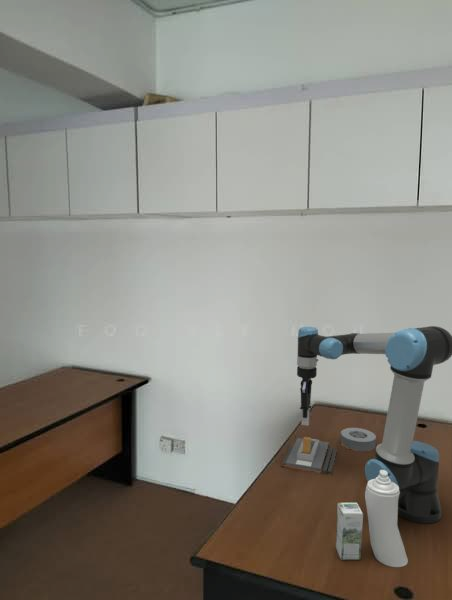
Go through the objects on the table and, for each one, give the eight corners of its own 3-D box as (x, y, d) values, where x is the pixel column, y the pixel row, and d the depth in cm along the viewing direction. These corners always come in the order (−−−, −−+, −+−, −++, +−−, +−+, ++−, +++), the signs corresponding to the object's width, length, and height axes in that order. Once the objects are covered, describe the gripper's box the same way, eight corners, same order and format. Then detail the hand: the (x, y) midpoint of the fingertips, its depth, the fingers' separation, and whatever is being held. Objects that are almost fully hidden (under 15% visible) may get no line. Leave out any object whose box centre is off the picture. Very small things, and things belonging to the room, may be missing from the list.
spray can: (378, 571, 126) (382, 485, 123) (356, 547, 136) (360, 466, 133) (414, 564, 129) (419, 479, 126) (390, 541, 139) (394, 462, 136)
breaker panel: (331, 475, 179) (331, 464, 179) (281, 466, 186) (281, 456, 185) (337, 448, 204) (338, 438, 203) (294, 441, 210) (294, 432, 210)
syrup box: (354, 547, 136) (356, 501, 134) (361, 561, 130) (363, 512, 128) (335, 547, 136) (337, 501, 134) (341, 561, 130) (343, 512, 128)
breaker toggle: (309, 459, 188) (309, 440, 187) (302, 457, 189) (302, 439, 188) (310, 455, 191) (311, 437, 190) (303, 454, 192) (304, 436, 191)
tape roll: (382, 449, 203) (383, 438, 203) (354, 454, 198) (354, 443, 197) (360, 436, 218) (361, 425, 217) (333, 440, 212) (333, 430, 211)
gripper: (314, 371, 173) (312, 431, 176) (319, 363, 185) (317, 420, 188) (294, 369, 175) (292, 429, 178) (300, 361, 188) (298, 417, 190)
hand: (305, 424), depth 183 cm, fingers closed
